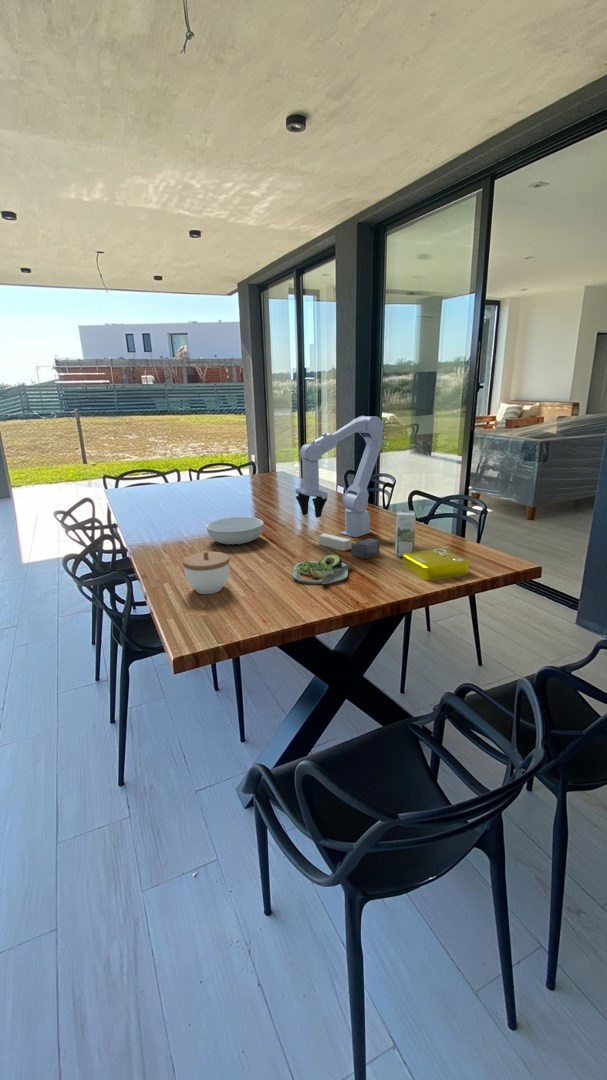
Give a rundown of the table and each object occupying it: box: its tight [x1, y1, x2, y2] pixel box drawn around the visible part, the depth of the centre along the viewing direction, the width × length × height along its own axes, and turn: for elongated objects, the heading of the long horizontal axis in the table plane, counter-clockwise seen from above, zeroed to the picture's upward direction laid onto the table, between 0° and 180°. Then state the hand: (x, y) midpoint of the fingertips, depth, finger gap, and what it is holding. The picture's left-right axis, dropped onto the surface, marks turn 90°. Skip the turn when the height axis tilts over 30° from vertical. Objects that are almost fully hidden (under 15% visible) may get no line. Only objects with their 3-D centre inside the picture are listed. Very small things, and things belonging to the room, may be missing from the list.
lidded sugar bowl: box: [182, 550, 230, 595], centre depth 136 cm, size 13×13×11 cm
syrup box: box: [394, 510, 417, 558], centre depth 160 cm, size 6×6×14 cm
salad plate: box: [292, 554, 353, 585], centre depth 145 cm, size 19×18×5 cm
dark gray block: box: [350, 537, 380, 560], centre depth 163 cm, size 7×6×5 cm
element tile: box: [402, 548, 470, 581], centre depth 147 cm, size 15×15×5 cm
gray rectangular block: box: [318, 533, 351, 551], centre depth 173 cm, size 4×12×4 cm, turn 44°
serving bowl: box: [206, 516, 264, 546], centre depth 182 cm, size 21×21×7 cm
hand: (311, 515), depth 179 cm, fingers open, 6 cm apart
